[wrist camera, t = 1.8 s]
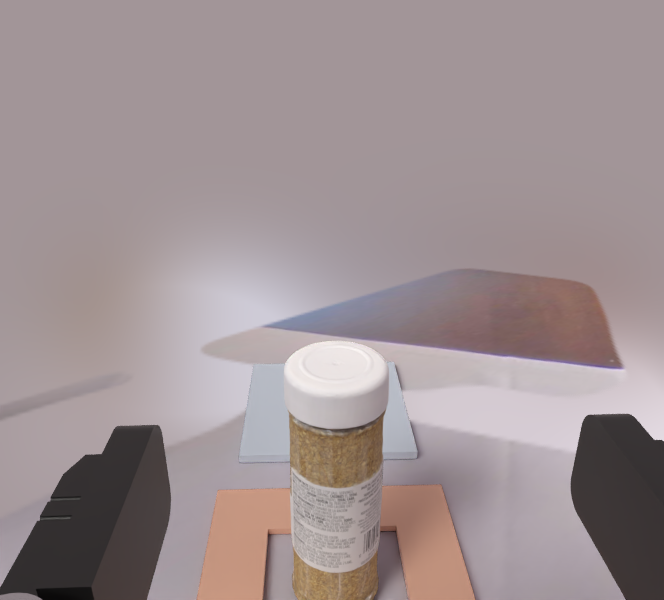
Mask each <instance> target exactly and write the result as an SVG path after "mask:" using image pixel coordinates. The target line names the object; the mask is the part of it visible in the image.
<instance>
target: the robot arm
mask: <svg viewBox="0 0 664 600" xmlns="http://www.w3.org/2000/svg"><path fill="white" fill-rule="evenodd" d="M571 495H572V500H573V504H574V507H575V510H576V512H577V514H578V516H579V518H580V519H581V521H582V523H583V525H584V526H585V528H586V530H587V532H588V533H589V535H590V537H591V539H592V541H593V542H594V544H595V546H596V548H597V549H598V551H599V553H600V555H601V556H602V558H603V560H604V562H605V563H606V565H607V567H608V569H609V570H610V572H611V574H612V576H613V578H614V579H615V581H616V583H617V585H618V586H619V588H620V590H621V592H622V593H623V595H624V597H625V599H626V600H664V441H662V440H654V439H653V438H652V437H651V436H650V435H649V434H648V432H647V431H646V430H645V429H644V428H643V427H642V425H641V424H640V423H639V422H638V421H637V420H636V418H635V417H633V416H632V415H630V414H602V415H588V416H586V417H585V419H584V421H583V423H582V427H581V432H580V437H579V442H578V447H577V452H576V457H575V462H574V467H573V472H572V477H571ZM170 506H171V493H170V485H169V478H168V471H167V464H166V457H165V450H164V444H163V437H162V432H161V429H160V427H159V426H158V425H142V426H117V427H116V428H115V429H114V431H113V433H112V435H111V437H110V439H109V441H108V443H107V445H106V447H105V449H104V451H103V453H102V454H96V455H85V456H84V457H83V458H82V459H80V460H79V461H78V462H77V463H76V464H75V465H74V466H72V467H71V468H70V469H69V470H68V471H67V472H66V473H64V474H63V476H62V478H61V480H60V481H59V483H58V485H57V487H56V489H55V490H54V492H53V494H52V496H51V501H50V502H48V503H47V505H46V506H45V508H44V510H43V512H42V514H41V515H40V521H37V523H36V524H35V526H34V528H33V530H32V532H31V533H30V535H29V537H28V539H27V541H26V542H25V544H24V546H23V548H22V550H21V551H20V553H19V555H18V557H17V558H16V560H15V562H14V564H13V566H12V567H11V569H10V571H9V573H8V575H7V576H6V578H5V580H4V582H3V584H2V585H1V587H0V600H147V596H148V593H149V589H150V586H151V582H152V579H153V575H154V572H155V568H156V565H157V561H158V558H159V554H160V551H161V547H162V544H163V540H164V537H165V533H166V530H167V526H168V522H169V516H170Z"/></svg>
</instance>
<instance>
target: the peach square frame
mask: <svg viewBox="0 0 664 600" xmlns="http://www.w3.org/2000/svg"><path fill="white" fill-rule="evenodd" d="M290 489H291V488H279V489H239V490H218V492H217V497H216V502H215V508H214V513H213V518H212V523H211V528H210V533H209V538H208V543H207V549H206V554H205V559H204V564H203V569H202V574H201V579H200V584H199V590H198V595H197V600H263V595H264V582H265V569H266V556H267V543H268V534H291V508H290ZM380 531H396V534H397V539H398V545H399V550H400V556H401V562H402V567H403V573H404V578H405V584H406V590H407V595H408V600H475V597H474V593H473V590H472V587H471V583H470V580H469V576H468V573H467V570H466V566H465V563H464V560H463V556H462V553H461V550H460V546H459V543H458V539H457V536H456V533H455V529H454V526H453V523H452V519H451V516H450V512H449V509H448V506H447V502H446V499H445V496H444V492H443V489H442V486H441V484H440V485H400V486H382V502H381V519H380Z"/></svg>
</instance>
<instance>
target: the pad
mask: <svg viewBox="0 0 664 600" xmlns="http://www.w3.org/2000/svg"><path fill="white" fill-rule="evenodd" d="M387 364H388V368H389V399H388V405H387V407H386V412H385V415H384V419H383V447H382V453H383V460H385V459H417V452H418V451H417V448H416V444H415V440H414V436H413V432H412V429H411V425H410V421H409V417H408V414H407V410H406V406H405V402H404V398H403V395H402V391H401V387H400V383H399V379H398V376H397V372H396V368H395V364H394V362H387ZM284 366H285V364H254V365H253V371H252V378H251V384H250V390H249V396H248V403H247V409H246V415H245V421H244V427H243V433H242V440H241V446H240V452H239V463H256V462H290V429H289V412H288V409H287V407H286V405H285V400H284Z"/></svg>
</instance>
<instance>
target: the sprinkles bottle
mask: <svg viewBox="0 0 664 600" xmlns="http://www.w3.org/2000/svg"><path fill="white" fill-rule="evenodd" d="M388 399H389V368H388V364H387V362H386V360H385V359H384V357H383V356H382V355H381V354H380V353H378V352H377V351H375V350H374V349H372V348H370V347H367V346H365V345H362V344H358V343H354V342H348V341H325V342H318V343H314V344H311V345H308V346H305V347H303V348H301V349H299V350H297V351H296V352H294V353H293V354H292V355H291V356H290V357H289V359H288V360H287V362H286V364H285V366H284V400H285V405H286V407H287V409H288V412H289V429H290V466H291V468H290V475H291V486H290V487H291V489H290V508H291V537H292V544H293V551H294V571H293V575H292V581H293V589H294V593H295V595H296V597H297V598H298V600H373V599H374V596H375V595H376V593H377V589H378V573H377V549H378V546H379V539H380V519H381V502H382V479H383V453H382V447H383V419H384V415H385V412H386V407H387V405H388Z"/></svg>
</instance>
